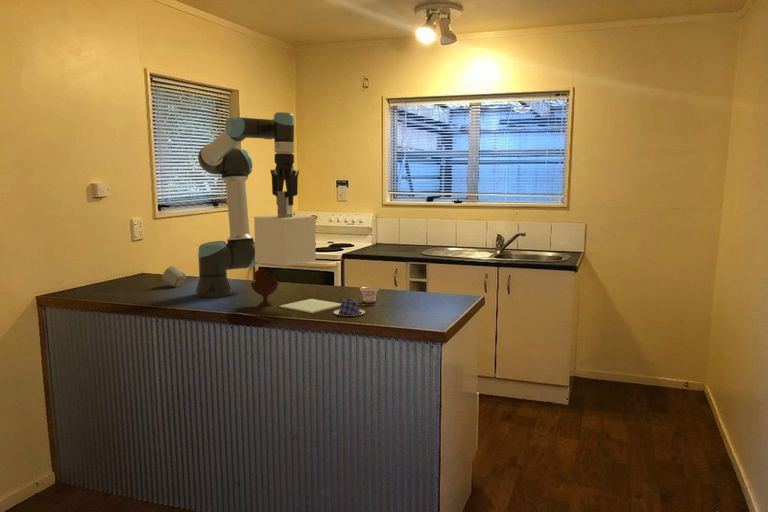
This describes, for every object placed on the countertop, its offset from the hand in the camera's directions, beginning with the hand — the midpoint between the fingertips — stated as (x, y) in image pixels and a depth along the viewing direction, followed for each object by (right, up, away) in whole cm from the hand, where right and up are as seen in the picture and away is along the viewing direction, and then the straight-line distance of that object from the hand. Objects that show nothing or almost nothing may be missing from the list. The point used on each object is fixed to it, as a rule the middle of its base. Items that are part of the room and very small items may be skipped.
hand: (284, 213), depth 235 cm
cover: (0, -19, +3) cm, 19 cm away
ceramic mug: (-60, -31, +49) cm, 83 cm away
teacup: (+33, -36, +10) cm, 50 cm away
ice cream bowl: (-9, -37, +5) cm, 38 cm away
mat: (+10, -37, +3) cm, 38 cm away
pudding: (+26, -39, -9) cm, 48 cm away
